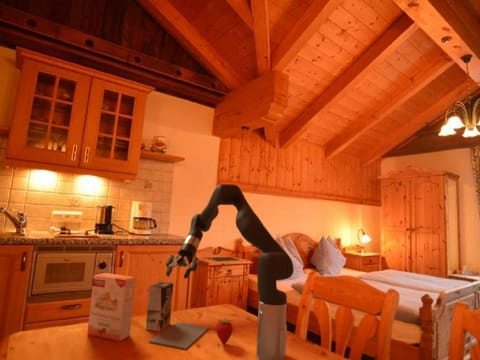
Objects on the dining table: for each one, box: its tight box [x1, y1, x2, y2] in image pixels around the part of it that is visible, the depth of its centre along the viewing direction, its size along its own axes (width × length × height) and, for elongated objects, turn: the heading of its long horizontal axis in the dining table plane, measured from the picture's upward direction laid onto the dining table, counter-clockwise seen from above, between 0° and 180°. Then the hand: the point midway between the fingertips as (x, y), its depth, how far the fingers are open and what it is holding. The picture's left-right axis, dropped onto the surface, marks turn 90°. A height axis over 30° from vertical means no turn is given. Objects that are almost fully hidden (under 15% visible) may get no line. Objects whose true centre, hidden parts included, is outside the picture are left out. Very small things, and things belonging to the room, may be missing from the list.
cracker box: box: [87, 272, 136, 342], centre depth 108 cm, size 14×6×21 cm, turn 73°
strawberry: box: [215, 315, 234, 346], centre depth 106 cm, size 6×8×10 cm
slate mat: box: [148, 321, 210, 351], centre depth 111 cm, size 14×20×1 cm
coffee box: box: [145, 281, 174, 333], centre depth 119 cm, size 9×6×16 cm
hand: (176, 276), depth 131 cm, fingers open, 8 cm apart
